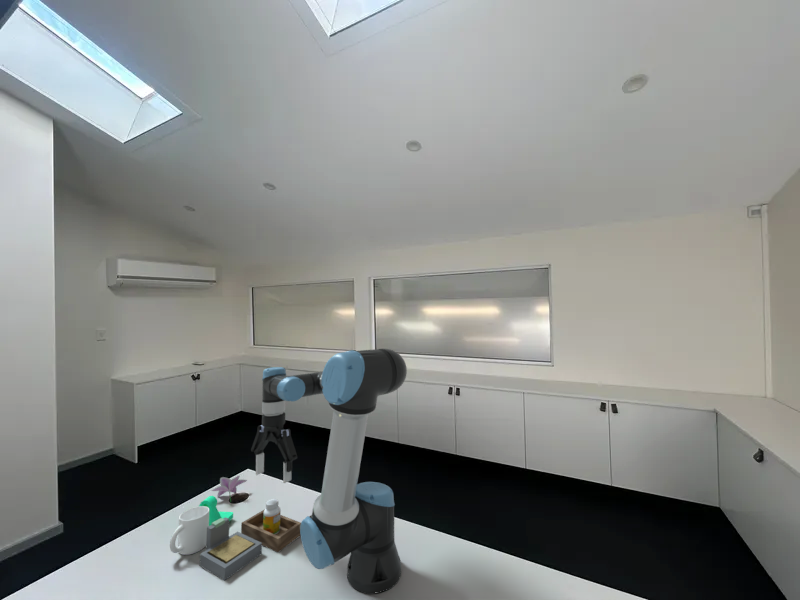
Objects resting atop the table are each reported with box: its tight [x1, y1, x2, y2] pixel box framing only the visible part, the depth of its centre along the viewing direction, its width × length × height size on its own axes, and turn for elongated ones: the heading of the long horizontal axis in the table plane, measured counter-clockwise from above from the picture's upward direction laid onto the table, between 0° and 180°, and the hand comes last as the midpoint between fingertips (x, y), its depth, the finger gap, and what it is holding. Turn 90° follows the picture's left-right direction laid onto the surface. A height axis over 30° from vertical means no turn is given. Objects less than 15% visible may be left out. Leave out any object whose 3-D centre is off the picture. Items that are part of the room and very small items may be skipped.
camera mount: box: [198, 495, 234, 526], centre depth 117 cm, size 12×8×10 cm, turn 84°
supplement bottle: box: [263, 498, 282, 535], centre depth 110 cm, size 5×5×10 cm
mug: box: [169, 505, 209, 556], centre depth 103 cm, size 12×8×10 cm
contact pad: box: [209, 535, 254, 564], centre depth 99 cm, size 9×9×2 cm
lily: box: [211, 475, 248, 503], centre depth 134 cm, size 12×12×10 cm
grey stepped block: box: [199, 517, 263, 581], centre depth 99 cm, size 14×12×9 cm
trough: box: [240, 508, 302, 553], centre depth 110 cm, size 18×10×4 cm, turn 61°
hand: (273, 477), depth 111 cm, fingers open, 13 cm apart
